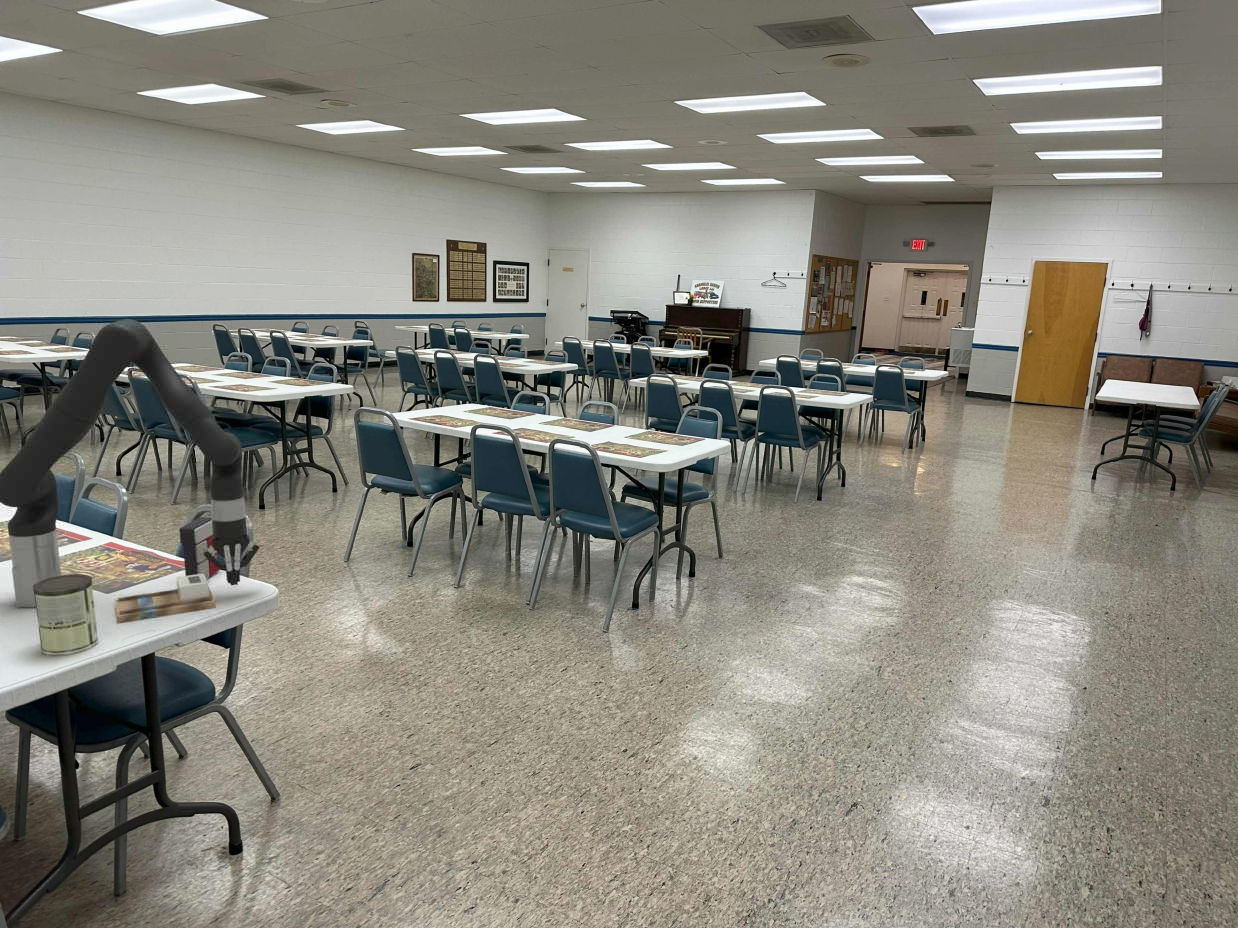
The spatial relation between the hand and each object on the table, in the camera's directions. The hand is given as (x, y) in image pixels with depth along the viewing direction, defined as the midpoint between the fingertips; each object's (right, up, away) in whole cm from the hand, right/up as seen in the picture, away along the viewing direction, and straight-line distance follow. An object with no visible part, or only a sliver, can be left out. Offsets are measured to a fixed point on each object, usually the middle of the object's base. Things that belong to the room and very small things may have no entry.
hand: (233, 583), depth 207 cm
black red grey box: (-14, 0, +13) cm, 19 cm away
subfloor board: (-13, -4, -7) cm, 15 cm away
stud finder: (-8, -2, -4) cm, 9 cm away
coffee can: (-21, -9, -30) cm, 37 cm away
